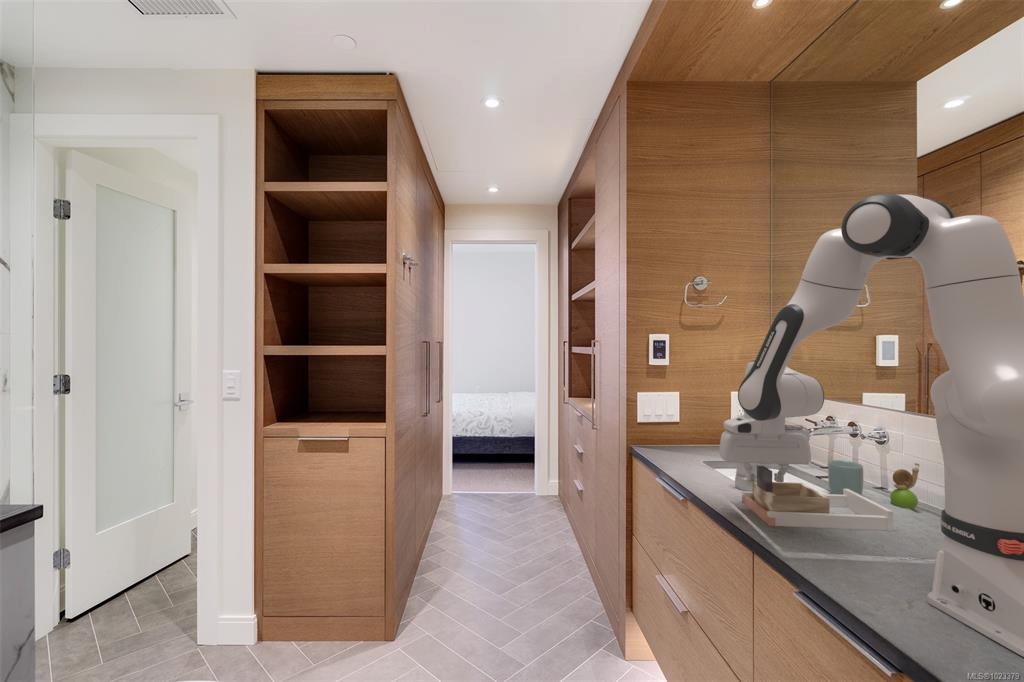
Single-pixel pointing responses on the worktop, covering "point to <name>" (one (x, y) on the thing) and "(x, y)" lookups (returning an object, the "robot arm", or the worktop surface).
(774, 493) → the drawer
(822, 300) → the robot arm
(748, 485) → the plastic bottle
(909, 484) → the snail figurine
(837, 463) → the cup
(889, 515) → the white tray
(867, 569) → the worktop surface
